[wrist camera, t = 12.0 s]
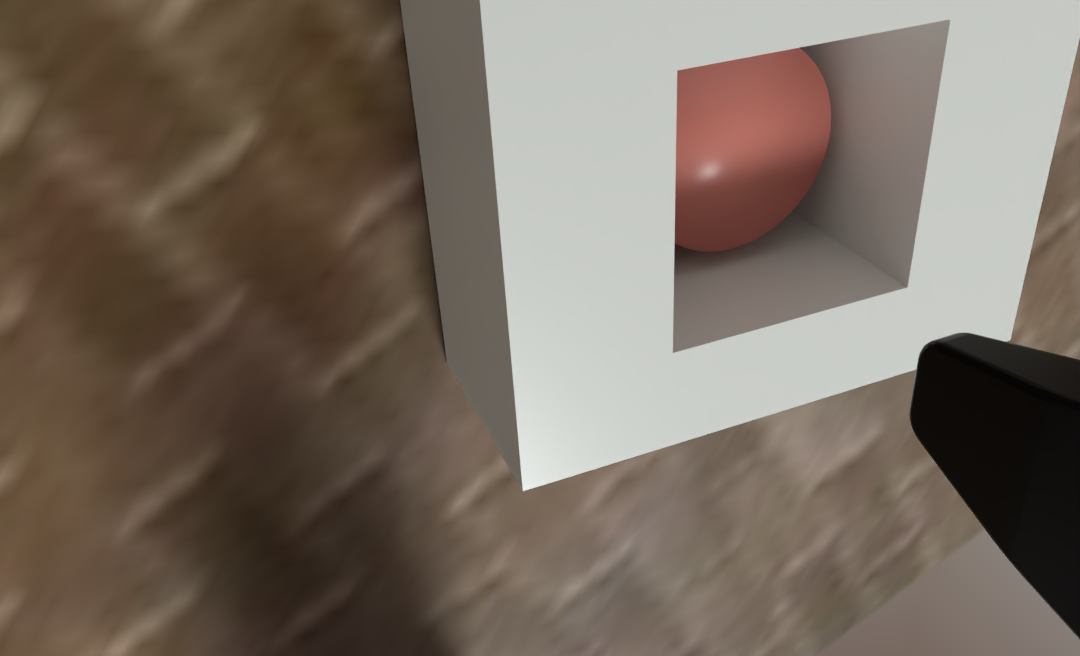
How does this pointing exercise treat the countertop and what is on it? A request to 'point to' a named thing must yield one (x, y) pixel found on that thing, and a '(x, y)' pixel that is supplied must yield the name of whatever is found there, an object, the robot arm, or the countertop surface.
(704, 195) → the button
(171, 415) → the countertop surface
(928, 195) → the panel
